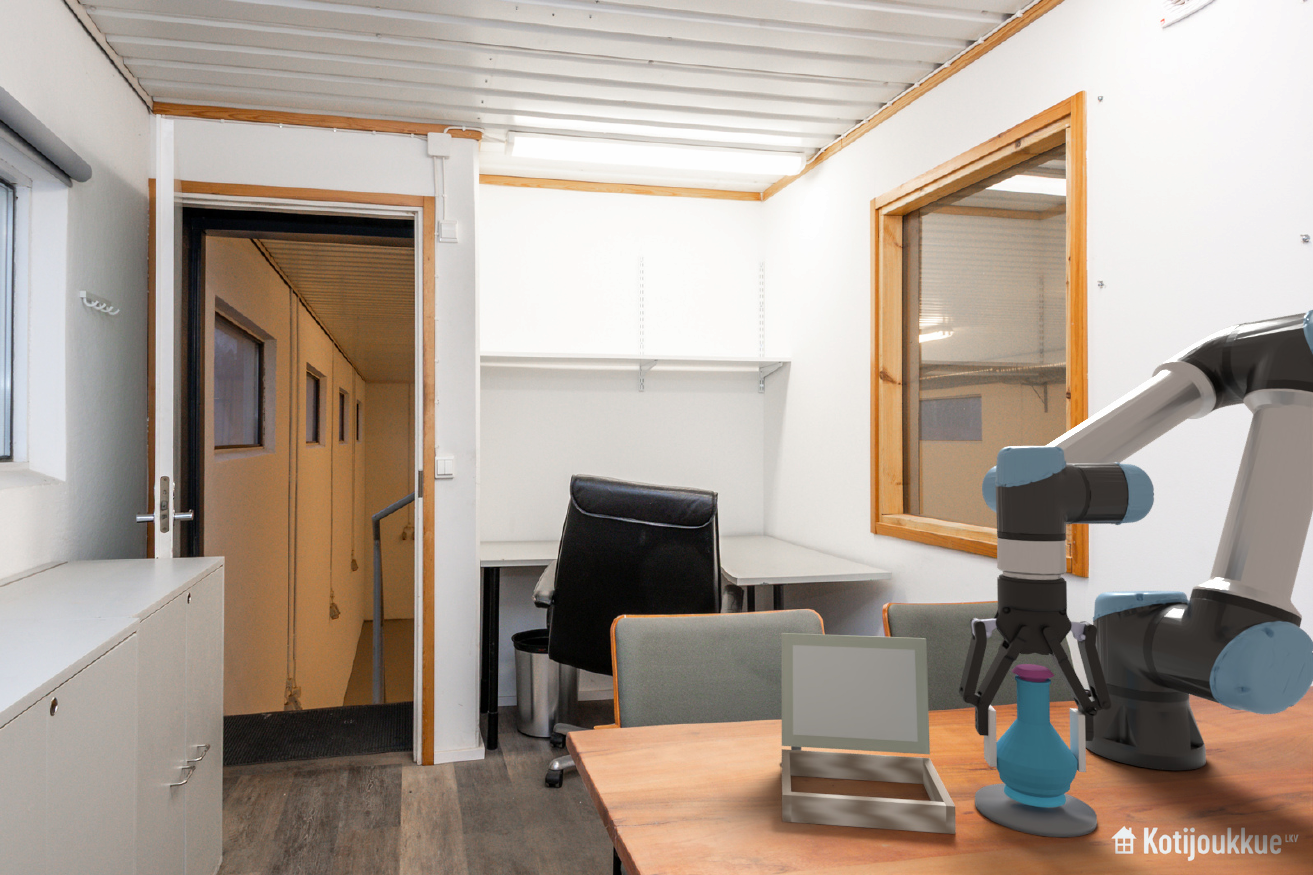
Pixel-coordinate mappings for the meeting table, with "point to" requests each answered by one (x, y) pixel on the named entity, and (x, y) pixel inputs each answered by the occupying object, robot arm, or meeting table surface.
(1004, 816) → the saucer
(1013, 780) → the perfume bottle
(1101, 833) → the meeting table surface
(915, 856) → the meeting table surface
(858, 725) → the lid
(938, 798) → the cold frame
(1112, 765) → the meeting table surface
